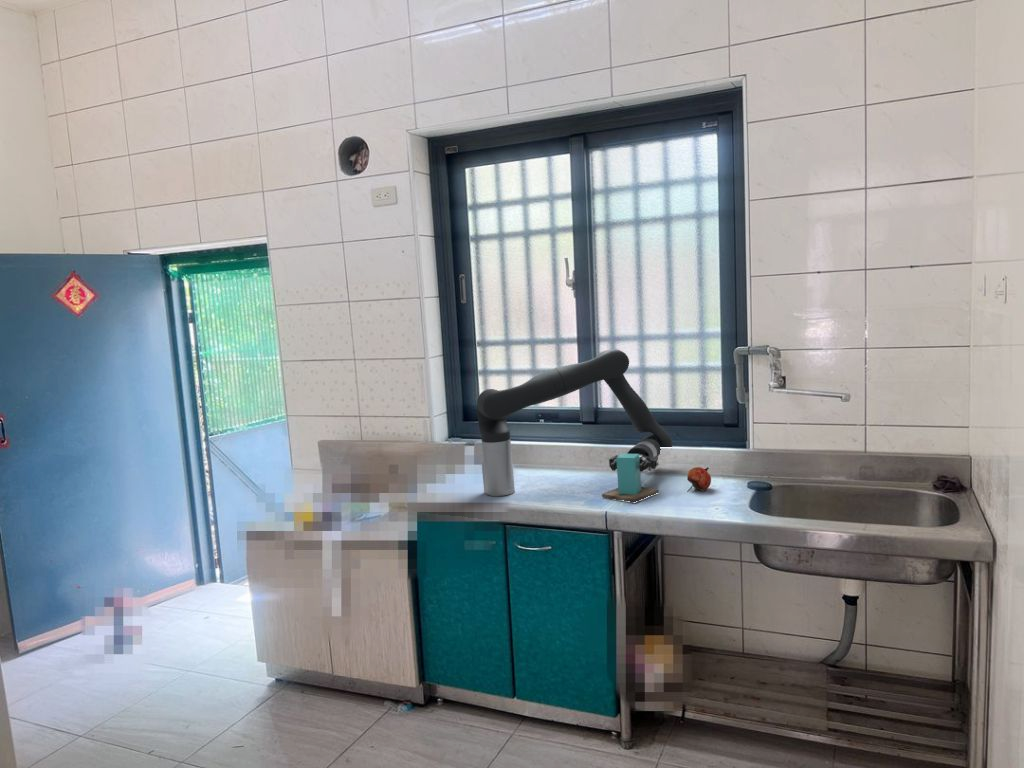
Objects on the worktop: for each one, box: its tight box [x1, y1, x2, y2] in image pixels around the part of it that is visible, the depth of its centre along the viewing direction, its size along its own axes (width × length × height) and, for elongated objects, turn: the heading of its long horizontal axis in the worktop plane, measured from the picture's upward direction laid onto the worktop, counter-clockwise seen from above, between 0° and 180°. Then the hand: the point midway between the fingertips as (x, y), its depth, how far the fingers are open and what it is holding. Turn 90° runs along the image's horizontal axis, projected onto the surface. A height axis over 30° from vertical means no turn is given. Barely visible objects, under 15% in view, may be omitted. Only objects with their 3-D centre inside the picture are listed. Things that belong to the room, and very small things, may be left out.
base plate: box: [601, 486, 660, 502], centre depth 218 cm, size 12×12×1 cm
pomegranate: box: [686, 466, 712, 493], centre depth 217 cm, size 7×7×10 cm
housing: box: [616, 453, 642, 495], centre depth 217 cm, size 5×5×11 cm
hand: (626, 467), depth 215 cm, fingers open, 8 cm apart
